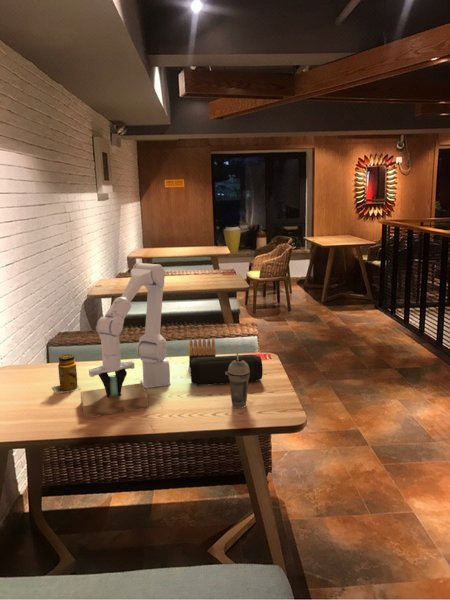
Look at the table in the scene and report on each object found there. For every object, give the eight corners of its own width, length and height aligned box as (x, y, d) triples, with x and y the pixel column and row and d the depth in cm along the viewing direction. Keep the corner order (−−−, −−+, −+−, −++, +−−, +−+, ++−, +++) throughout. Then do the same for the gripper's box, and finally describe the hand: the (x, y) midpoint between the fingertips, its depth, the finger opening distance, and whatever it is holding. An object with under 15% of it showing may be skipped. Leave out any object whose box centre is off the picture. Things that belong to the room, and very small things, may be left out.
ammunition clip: (189, 367, 196) (188, 338, 193) (189, 366, 198) (188, 337, 195) (216, 367, 196) (215, 338, 194) (216, 365, 198) (215, 337, 195)
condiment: (81, 389, 176) (78, 357, 174) (57, 394, 172) (54, 361, 169) (75, 382, 182) (72, 351, 179) (51, 387, 178) (48, 356, 175)
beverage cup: (234, 412, 156) (234, 351, 152) (223, 403, 163) (223, 345, 158) (254, 407, 160) (254, 348, 155) (243, 399, 166) (243, 342, 162)
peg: (116, 397, 164) (115, 374, 162) (119, 400, 161) (118, 377, 160) (108, 399, 162) (106, 376, 161) (111, 402, 160) (109, 379, 158)
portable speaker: (192, 390, 175) (191, 363, 173) (190, 379, 184) (189, 354, 182) (263, 385, 178) (263, 359, 175) (258, 375, 187) (258, 350, 185)
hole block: (141, 394, 171) (140, 383, 170) (148, 407, 160) (147, 396, 159) (81, 403, 164) (80, 391, 164) (84, 418, 153) (83, 406, 153)
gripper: (128, 346, 165) (130, 384, 168) (84, 353, 158) (87, 393, 161) (136, 351, 160) (138, 391, 162) (91, 360, 152) (94, 401, 155)
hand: (113, 392), depth 161 cm, fingers closed on peg, 3 cm apart
